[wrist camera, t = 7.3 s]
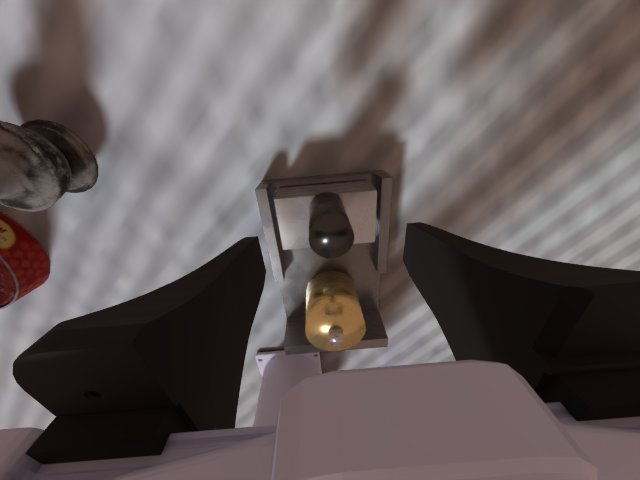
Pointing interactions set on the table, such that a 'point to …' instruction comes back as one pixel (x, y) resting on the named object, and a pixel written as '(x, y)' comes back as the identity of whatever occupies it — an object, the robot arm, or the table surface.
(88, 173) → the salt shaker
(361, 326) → the gold bell
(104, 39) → the table surface
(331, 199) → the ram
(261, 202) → the press frame
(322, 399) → the robot arm
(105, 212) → the table surface
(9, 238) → the canned food
